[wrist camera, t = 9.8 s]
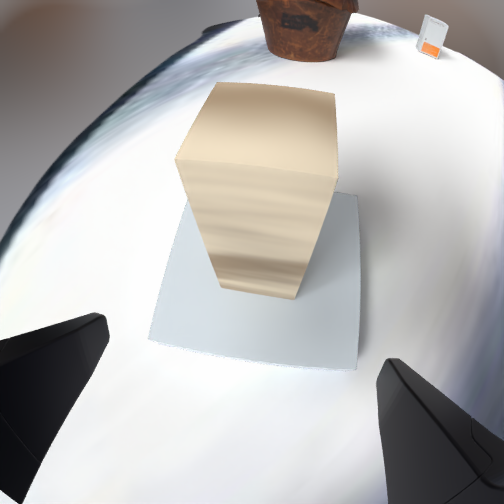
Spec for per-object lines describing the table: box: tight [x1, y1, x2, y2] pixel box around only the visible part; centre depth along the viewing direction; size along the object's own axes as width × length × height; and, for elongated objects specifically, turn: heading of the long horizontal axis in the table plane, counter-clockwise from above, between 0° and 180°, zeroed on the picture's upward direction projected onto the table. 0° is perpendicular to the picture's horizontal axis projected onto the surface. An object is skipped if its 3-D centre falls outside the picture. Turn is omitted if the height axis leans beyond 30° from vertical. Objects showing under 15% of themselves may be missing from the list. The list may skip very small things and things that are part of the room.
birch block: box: [174, 82, 338, 300], centre depth 14 cm, size 5×5×12 cm
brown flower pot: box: [256, 0, 359, 62], centre depth 33 cm, size 18×20×18 cm
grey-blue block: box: [148, 192, 361, 371], centre depth 21 cm, size 14×14×3 cm
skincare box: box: [416, 14, 449, 59], centre depth 42 cm, size 6×4×12 cm
